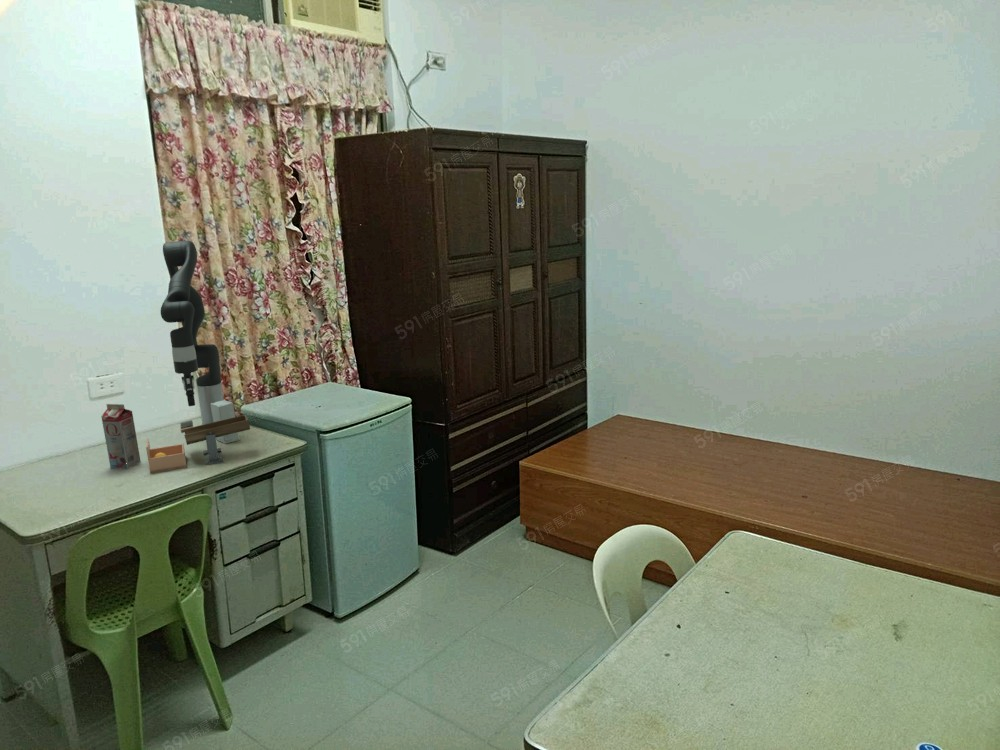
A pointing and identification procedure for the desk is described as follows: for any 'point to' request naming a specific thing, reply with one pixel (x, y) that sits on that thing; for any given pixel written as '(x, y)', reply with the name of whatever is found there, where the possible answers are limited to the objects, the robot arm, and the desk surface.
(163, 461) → the cup
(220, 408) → the skincare box
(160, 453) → the ball
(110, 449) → the juice carton
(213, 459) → the lever stand
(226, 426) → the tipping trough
